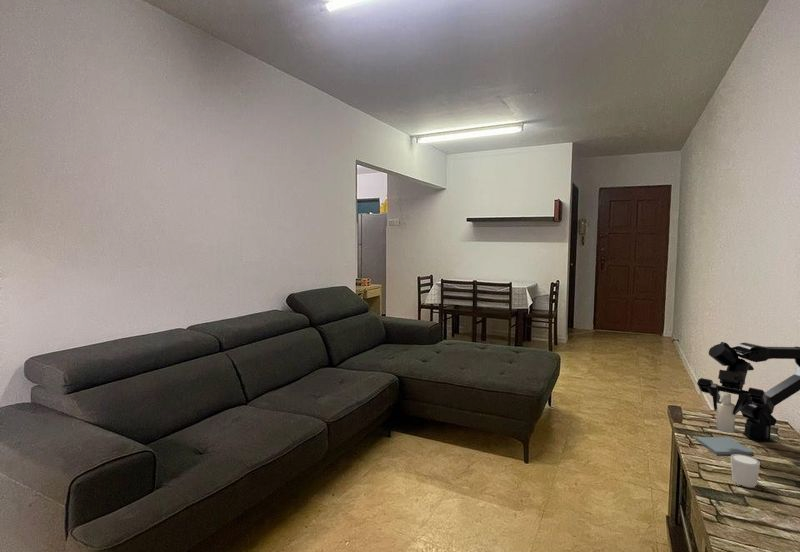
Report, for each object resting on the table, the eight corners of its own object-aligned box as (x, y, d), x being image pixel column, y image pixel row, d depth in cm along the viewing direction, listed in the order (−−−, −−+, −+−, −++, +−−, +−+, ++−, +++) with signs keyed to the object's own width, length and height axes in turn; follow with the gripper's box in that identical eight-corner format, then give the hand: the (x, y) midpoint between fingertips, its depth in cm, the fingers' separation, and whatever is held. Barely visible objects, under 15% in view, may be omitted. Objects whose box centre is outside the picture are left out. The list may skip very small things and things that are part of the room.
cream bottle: (727, 426, 150) (728, 391, 149) (738, 432, 145) (739, 396, 144) (712, 426, 150) (713, 391, 149) (722, 432, 145) (723, 396, 145)
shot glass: (765, 489, 123) (765, 466, 122) (737, 487, 124) (738, 464, 124) (750, 477, 129) (751, 454, 129) (724, 475, 131) (725, 452, 130)
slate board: (730, 440, 154) (730, 437, 154) (753, 454, 143) (753, 451, 143) (695, 439, 154) (695, 437, 154) (716, 454, 144) (716, 451, 143)
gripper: (699, 355, 156) (686, 392, 150) (765, 366, 141) (754, 407, 135) (707, 372, 161) (695, 408, 155) (771, 384, 146) (760, 425, 140)
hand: (724, 411), depth 146 cm, fingers closed on cream bottle, 5 cm apart
